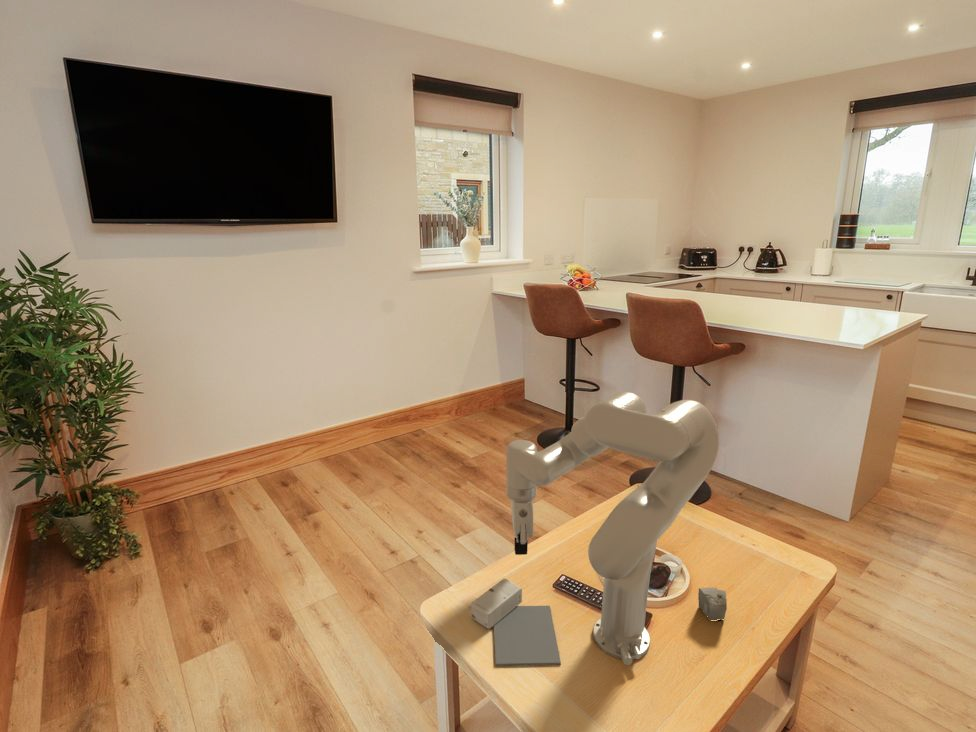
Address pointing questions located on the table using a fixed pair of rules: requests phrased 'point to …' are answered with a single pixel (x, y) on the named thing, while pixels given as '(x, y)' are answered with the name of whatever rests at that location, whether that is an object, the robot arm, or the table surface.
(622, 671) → the table surface
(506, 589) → the skincare box
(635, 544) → the robot arm
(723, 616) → the mineral specimen
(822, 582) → the table surface
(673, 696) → the table surface
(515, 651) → the mat
